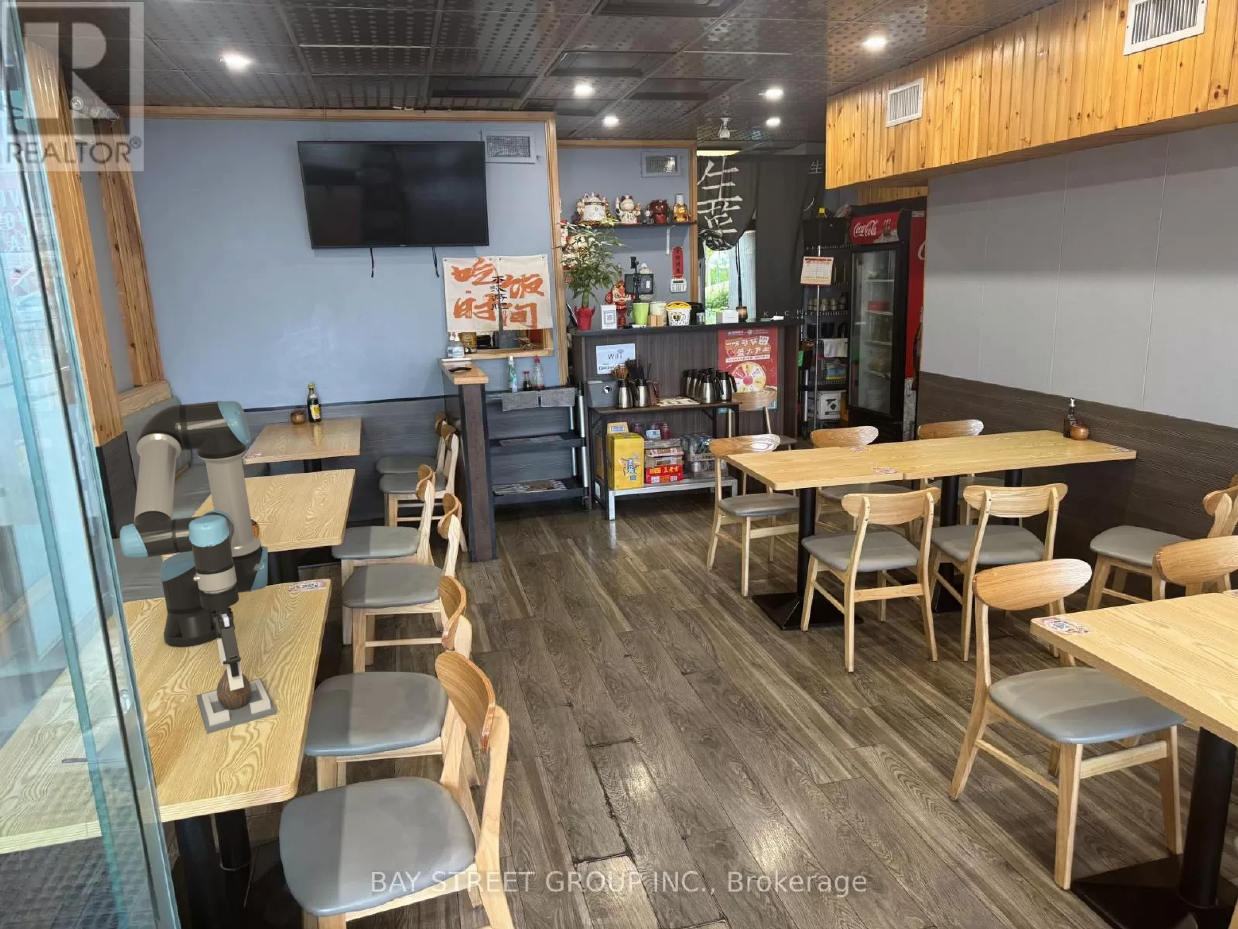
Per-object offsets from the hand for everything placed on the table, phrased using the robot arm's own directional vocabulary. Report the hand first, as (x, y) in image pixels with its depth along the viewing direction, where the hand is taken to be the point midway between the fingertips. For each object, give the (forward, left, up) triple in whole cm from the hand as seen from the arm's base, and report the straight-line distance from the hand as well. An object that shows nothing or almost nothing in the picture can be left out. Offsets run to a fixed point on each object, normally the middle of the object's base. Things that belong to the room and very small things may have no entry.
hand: (232, 676), depth 186 cm
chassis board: (-2, 0, -8) cm, 8 cm away
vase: (0, 0, -7) cm, 7 cm away
